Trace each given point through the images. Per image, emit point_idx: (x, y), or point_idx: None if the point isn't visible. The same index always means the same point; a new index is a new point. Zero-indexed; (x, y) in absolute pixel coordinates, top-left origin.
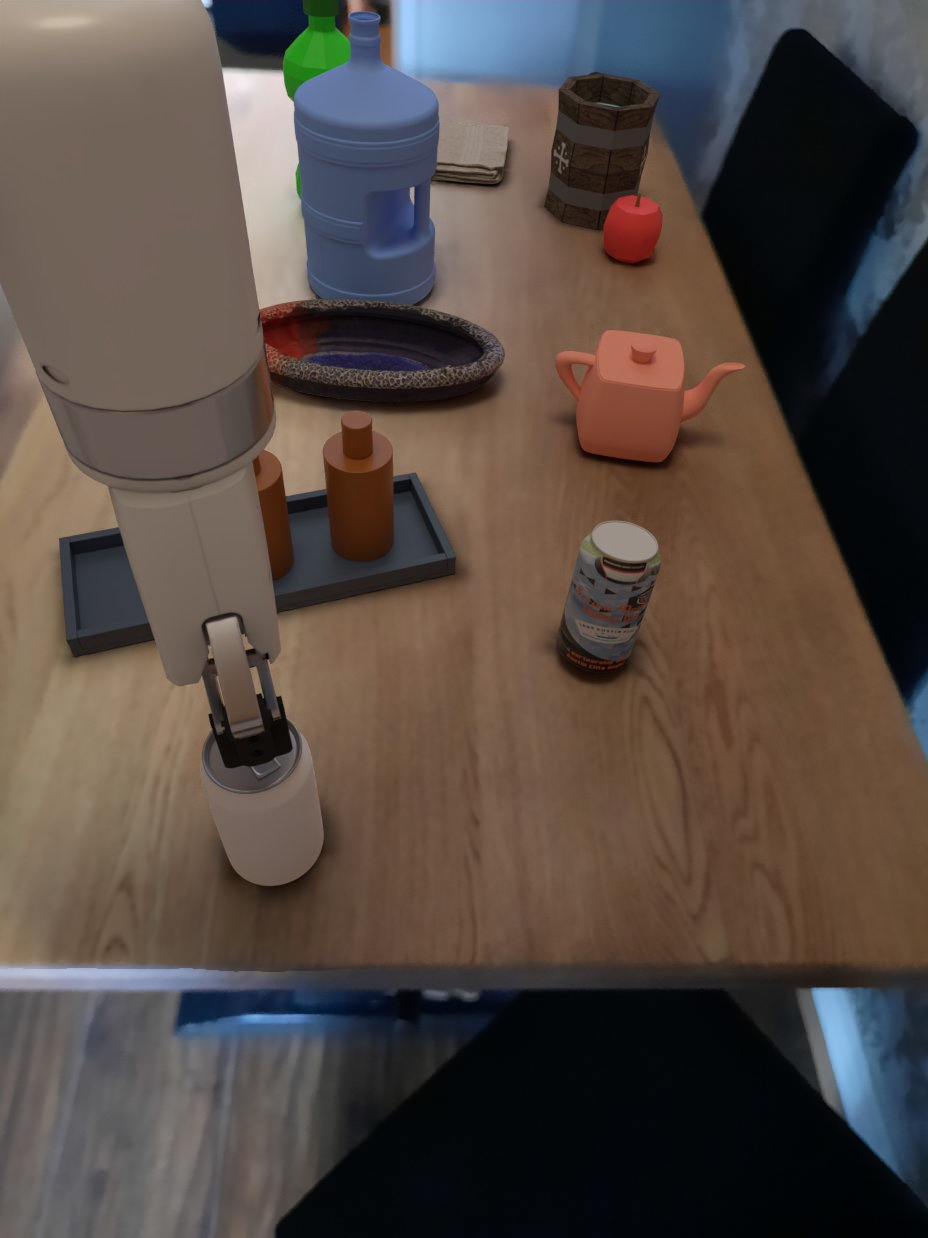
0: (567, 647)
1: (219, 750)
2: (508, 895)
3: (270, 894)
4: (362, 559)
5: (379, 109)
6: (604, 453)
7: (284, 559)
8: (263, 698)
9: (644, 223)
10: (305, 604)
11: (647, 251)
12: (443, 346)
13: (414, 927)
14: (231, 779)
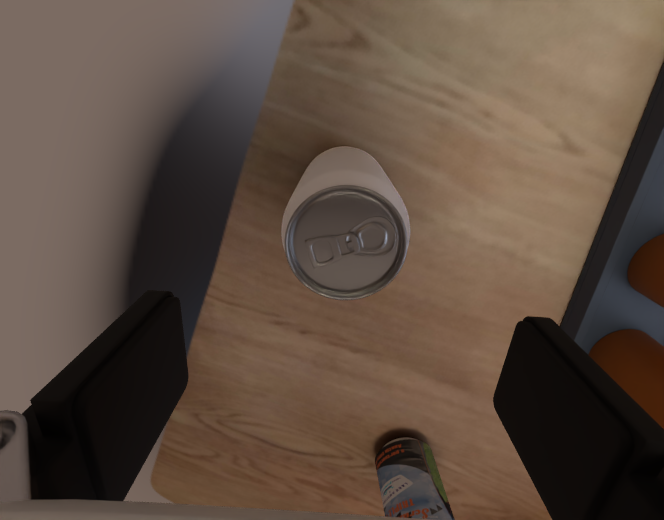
0: (404, 451)
1: (113, 322)
2: (242, 330)
3: (300, 171)
4: (595, 348)
5: None
6: None
7: (644, 291)
8: (106, 496)
9: None
10: (578, 284)
11: None
12: None
13: (238, 266)
14: (317, 211)
